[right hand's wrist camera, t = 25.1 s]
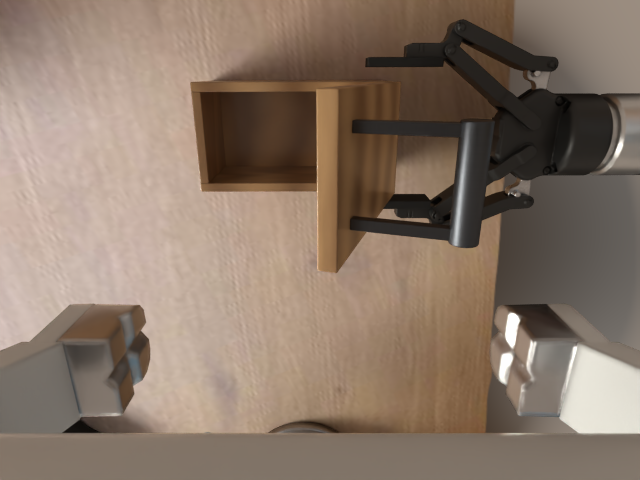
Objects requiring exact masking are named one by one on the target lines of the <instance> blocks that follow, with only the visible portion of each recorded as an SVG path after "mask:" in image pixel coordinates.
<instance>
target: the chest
mask: <svg viewBox="0 0 640 480" xmlns="http://www.w3.org/2000/svg"><path fill="white" fill-rule="evenodd" d="M378 82H392V81H384V80H222V81H201V82H191V83H190V85H191V95H192V104H193V114H194V124H195V134H196V144H197V154H198V163H199V173H200V183H201V191H202V192H237V191H317V108H316V89H317V88H325V87H335V86H346V85H357V84H367V83H378Z"/></svg>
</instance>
